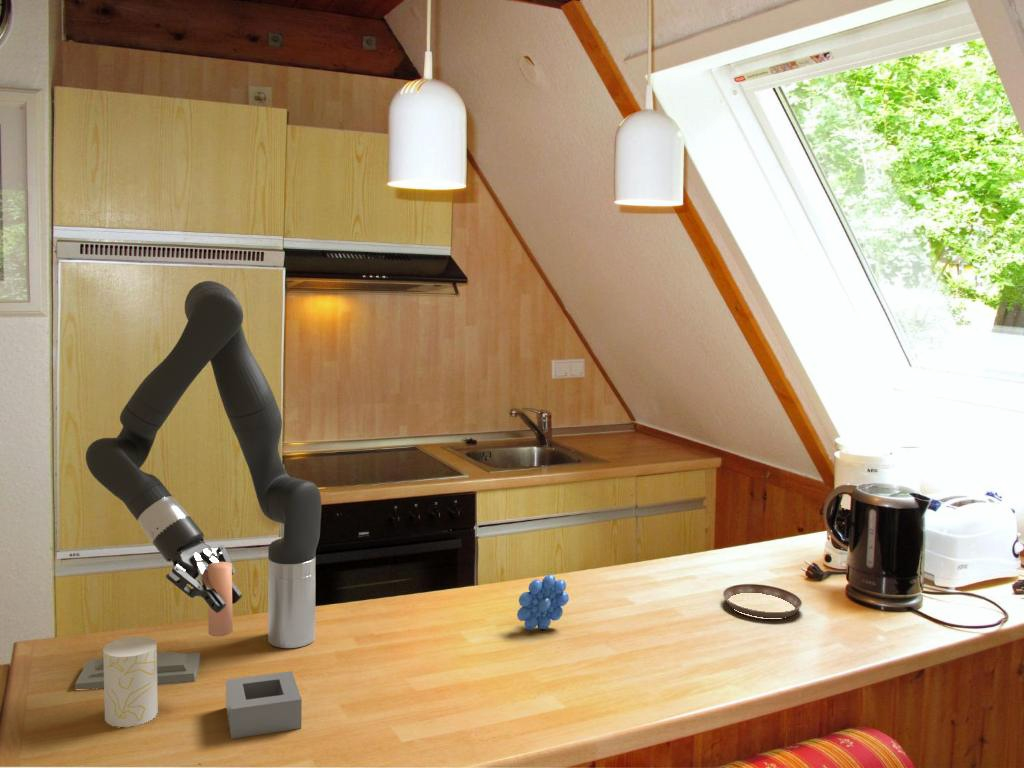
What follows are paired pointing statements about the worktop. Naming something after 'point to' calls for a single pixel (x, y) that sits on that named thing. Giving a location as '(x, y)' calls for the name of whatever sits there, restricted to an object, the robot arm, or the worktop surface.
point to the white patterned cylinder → (130, 681)
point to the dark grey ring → (766, 590)
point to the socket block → (263, 704)
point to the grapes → (542, 602)
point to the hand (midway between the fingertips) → (229, 604)
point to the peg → (223, 585)
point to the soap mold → (168, 670)
